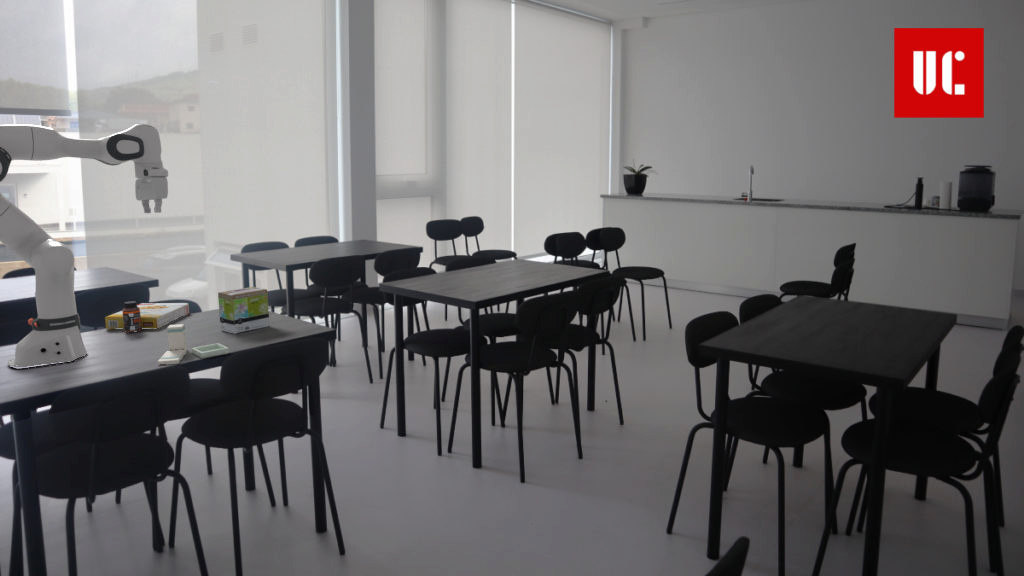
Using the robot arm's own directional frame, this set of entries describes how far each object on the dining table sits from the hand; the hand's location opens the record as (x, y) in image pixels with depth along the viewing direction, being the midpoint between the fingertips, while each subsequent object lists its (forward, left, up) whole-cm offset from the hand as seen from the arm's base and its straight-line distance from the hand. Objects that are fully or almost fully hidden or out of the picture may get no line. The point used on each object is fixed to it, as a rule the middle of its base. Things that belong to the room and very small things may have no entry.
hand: (152, 213), depth 267 cm
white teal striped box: (-2, -19, -45) cm, 49 cm away
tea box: (+28, -3, -46) cm, 54 cm away
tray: (+5, -29, -45) cm, 54 cm away
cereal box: (+6, +38, -46) cm, 60 cm away
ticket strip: (-7, -27, -45) cm, 53 cm away
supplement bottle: (-4, +24, -46) cm, 52 cm away
